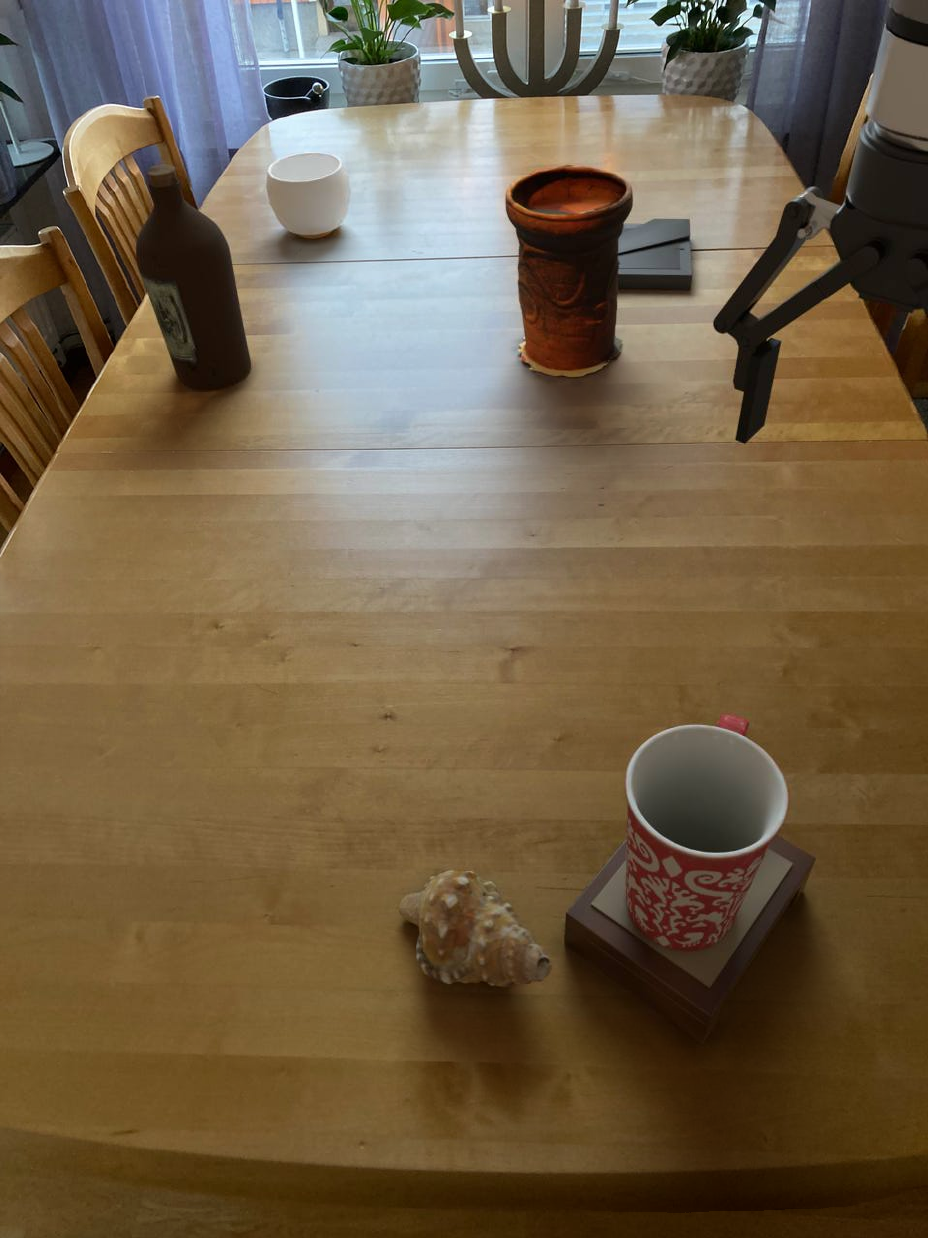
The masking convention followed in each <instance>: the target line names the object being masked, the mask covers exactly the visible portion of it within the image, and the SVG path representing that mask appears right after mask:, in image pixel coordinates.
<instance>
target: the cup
mask: <svg viewBox="0 0 928 1238" xmlns="http://www.w3.org/2000/svg"><path fill="white" fill-rule="evenodd" d="M265 184H266V185H265V189H266V193H267V198H268V203H269V206H270V207H271V209H272V211H273V214H274V215H275V217H276V219H277V221H278V222H279V224H280V225H281V226H282V227H283V228H285V230H286V231H288V232H290V233H292V234H294V235H298V236H299V237H302V238H304V239H312V240H313V239H320V238H325V237H327V236H328V235H330V234H331V233H333V232H334V230H335V229H338V228H339V227H340V226H341V225H342V224H344V221H345V219H346V218H347V216H348V211H349V207H350V200H351V194H352V193H351V187H350V179H349V174H348V172H347V169H346V167H345V164H344V162H343V161H342V160H341V159H340V157H339V156H336V155H334V154H331V153H326V152H319V151H315V152H314V151H313V152H312V151H311V152H310V151H309V152H301V153H294V154H290V155H286V156H284V157H282V158H279V159H276V160H275V161H274V162H273V163H271V164H270V165H269V167H268V169H267V171H266V183H265Z"/></svg>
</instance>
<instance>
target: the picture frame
mask: <svg viewBox="0 0 928 1238" xmlns="http://www.w3.org/2000/svg"><path fill="white" fill-rule="evenodd" d="M618 262H619V270H618V290H620V289H621V290H622V289H624V290H671V291H672V290H675V291H676V290H677V291H678V290H679V291H680V290H682V291H691V287H692V279H693V266H692V250H691V219H690V218H653V219H651V220H648V221H646V222H644V223H628V222H627V223H625V222H624V228H623V231H622V234H621V236H620V237H619V240H618Z"/></svg>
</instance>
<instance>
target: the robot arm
mask: <svg viewBox="0 0 928 1238" xmlns="http://www.w3.org/2000/svg"><path fill="white" fill-rule="evenodd" d="M878 46H879V47H878V51H877V55H876V59H875V64H874V67H873V71H872V76H871V80H870V85H869V89H868V93H867V97H866V101H865V105H864V110H865V114H866V116H867V117H868V118H869V120H868V121H867V122H865V123H864V124H863V125H862V126H861V127H860V130H859V133H858V136H857V142H856V145H855V146H856V147H855V150H854V153H853V158H852V162H851V163H852V164H851V168H850V172H849V176H848V182H847V185H846V188H845V197H844V201H843V203H842V204H841V205H840V204H837V203H834V202H831V201H829V200H827V199H824V193H823V191H822V190H821V189H820V188H819V187H818V186H813V185H812V186H809V187H807V188H806V189H805V190H803V191H802V192H800V193H799V194H798V195H796V197H794V198H793V199H792V200H790V201H789V202H787V203H786V204H785V206H784V207H783V211H782V214H781V217H780V221H779V224H778V227H777V230H776V234H775V236H774V238H773V240H772V241H771V242H770V243H769V245H768V246H767V248H765V250H764V251H763V253H762V254H761V256H760V257H759V258H758V259H757V261H756V262H755V264H754V265H753V266H752V267H751V269H750V270H749V272H748V273H747V274H746V275H745V277H744V278H743V280H742V281H741V283H740V284H739V285H738V286H737V288H736V289H735V291H734V292H733V293H732V295H731V296H730V297H729V298H728V300H727V301H726V303H725V304H724V305H723V306H722V307H721V309H720V311H719V312H718V313H717V314H716V316H715V317H714V319H713V321H712V326H713V329H714V331H716V332H717V333H718V334H721V335H724V334H725V335H726V334H727V335H729V336H730V337H731V338H733V339H734V340H735V342H736V345H737V346H738V348H737V355H736V361H735V368H734V372H733V373H734V374H733V378H732V383H733V388H734V390H736V391H739V392H742V393H743V395H742V399H741V405H740V411H739V417H738V421H737V427H736V428H737V429H736V433H735V437H734V438H735V439H734V441H736V442H738V443H740V444H744V445H746V444H747V443H748V442H749V441H750V440H751V439H752V438H753V437H754V436H755V435H756V434H757V433H758V432H760V431H761V429H762V428H764V426H765V423H766V419H767V415H768V410H769V404H770V400H771V394H772V391H773V390H772V389H773V385H774V380H775V375H776V370H777V365H778V360H779V356H780V350H781V347H782V340H780V339H777V338H774V337H772V336H773V335H775V334H777V333H778V332H779V331H781V330H782V329H784V328H786V326H788V325H790V324H791V323H792V322H794V321H795V320H797V319H799V318H800V317H801V316H802V315H804V314H806V313H807V312H809V311H810V310H812V309H813V308H814V307H816V306H817V305H818V304H820V303H822V302H823V301H824V300H826V299H827V300H828V298H830V297H831V296H833V295H834V294H836V293H837V292H839V291H841V290H842V289H843V288H845V287H846V286H848V285H850V287H851V288H852V289H853V290H854V291H855V292H856V293H857V294H858V299H860V300H864V301H868V302H871V303H887V304H888V305H889V306H891V307H893V308H895V309H896V310H899V311H902V312H906V313H908V314H913V313H914V312H915V311H921V310H923V312H924V314H925V316H926V318H927V319H928V0H889V5H888V9H887V14H886V18H885V22H884V25H883V29H882V34H881V38H880V43H879V45H878ZM824 229H828V230H829V236H830V238H831V241H832V244H833V246H834V248H835V251H836V254H837V256H838V259H839V260H838V261H836V262H835V263H834V264H832V265H831V266H830V267H828V268H827V269H826V270H824V271H823V272H821V273H820V274H819V275H817V276H816V277H815V278H813V279H811V280H810V281H809V282H807V283H806V284H804V285H803V286H802V287H800V288H798V290H796V291H795V292H793V294H791V295H789V296H788V297H787V298H785V299H784V300H782V301H780V303H778V304H777V305H775V306H774V307H772V309H769V310H768V311H767V312H766V313H764V314H762V315H761V316H760V317H759V318H758V317H757V316H755V315H754V314H753V313H752V312H751V311H752V310H753V309H754V308H755V306H756V305H757V304H758V302H760V300H761V299H762V298H763V296H764V295H765V294H766V292H767V291H768V290H769V288H770V287H771V286H772V285H773V283H774V282H775V281H776V280H777V278H778V277H779V275H781V273H782V272H783V271H784V269H785V268H786V267H787V265H788V264H789V263H790V262H791V260H792V259H793V258H794V256H796V254H797V253H798V251H799V250H800V249H801V247H803V245H804V244H805V242H806V241H809V240H812V239H814V238H815V237H817V235H819V234H821V232H822V231H823V230H824Z"/></svg>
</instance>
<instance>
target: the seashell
mask: <svg viewBox="0 0 928 1238" xmlns="http://www.w3.org/2000/svg"><path fill="white" fill-rule="evenodd" d="M398 910H399V911H398V912H399V914H400V916H401V917H402V918H403V919H404V920H405V921H406V922H409V923H411V924H413V925H414V926H416V927H418V931H419V934H418V937H417V940H416V949H415V956H416V962H417V964H419V966H420V968H421V969H422V972H423V973H424V974H425V975H426V976H429V977H431V978H433V979H435V980H436V981H437V980H438V981H440V982H442V983H445V984H447V985H451V984H453V983H454V982H456V983H457V982H459V983H460V982H461V983H462V984H466V985H467V984H468V983H469V984H470V983H472V984H478V983H480V982H486V983H487V984H488V985H490V986H491V987H492V986H493V987H494V986H497V987H502V988H507V987H510V986H511V985H513V984H516V985H528V984H531V983H540V982H543V981H544V980H545V979H547V977H548V976H549V975H550V974H551V972H552V969H553V962H552V960H551V959H550V957H549V956H547V954H546V952H545V949H544V948H543V947H542V945H540V944H537V943H536V941H535V939H534V936H533V933H532V932H531V931H529V930H528V929H526V928H524V927H522V925H521V921H520V920H519V918H518V915H517V913H516V911H515V909H514V908H513V907H512V905H511V904H510V903H508V902H506V901H503V900H501V896H500V894H499V890H498V888H497V886H496V884H495V883H494V882H493V881H489V880H487V879H486V878H483V877H480V876H477V875H476V873H475V871H472V870H466V871H465V870H464V871H457V870H453V869H451V870H448V871H444V872H442V873H439V874H437V875H433V876H430V877H429V878H428V880H427V882H426V883H425V884H424V885H423V887H422V890H420V891H419V892H412V893H411V892H410V893H407V894H406V895H405V896H404V897H403V898H402V900H401V901H400V904H399V907H398Z"/></svg>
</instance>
